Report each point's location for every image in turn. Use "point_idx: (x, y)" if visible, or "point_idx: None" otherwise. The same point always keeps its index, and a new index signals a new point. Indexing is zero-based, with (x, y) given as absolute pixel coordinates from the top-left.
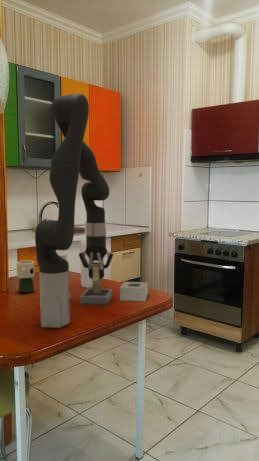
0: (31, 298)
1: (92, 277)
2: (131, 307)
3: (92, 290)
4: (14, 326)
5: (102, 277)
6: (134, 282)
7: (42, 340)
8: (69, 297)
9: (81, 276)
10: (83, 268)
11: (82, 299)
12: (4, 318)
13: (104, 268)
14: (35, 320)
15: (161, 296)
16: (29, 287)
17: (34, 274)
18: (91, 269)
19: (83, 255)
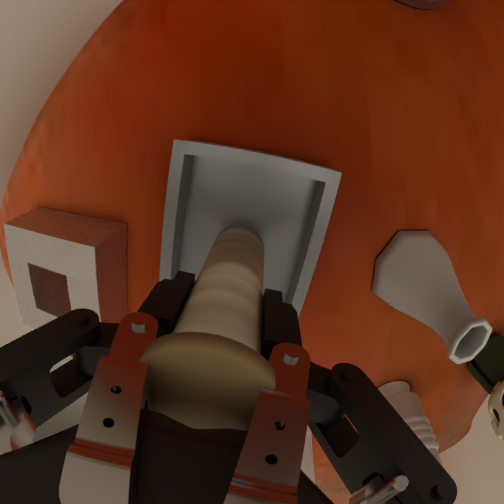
0: (493, 286)
1: (261, 299)
2: (80, 118)
3: None
4: (497, 3)
5: (169, 280)
6: None
7: None
8: (385, 260)
9: (311, 447)
10: (305, 473)
11: (325, 167)
12: None
13: (115, 324)
14: (469, 19)
15: None
16: (492, 352)
17: (491, 399)
18: (270, 347)
19: (388, 500)
